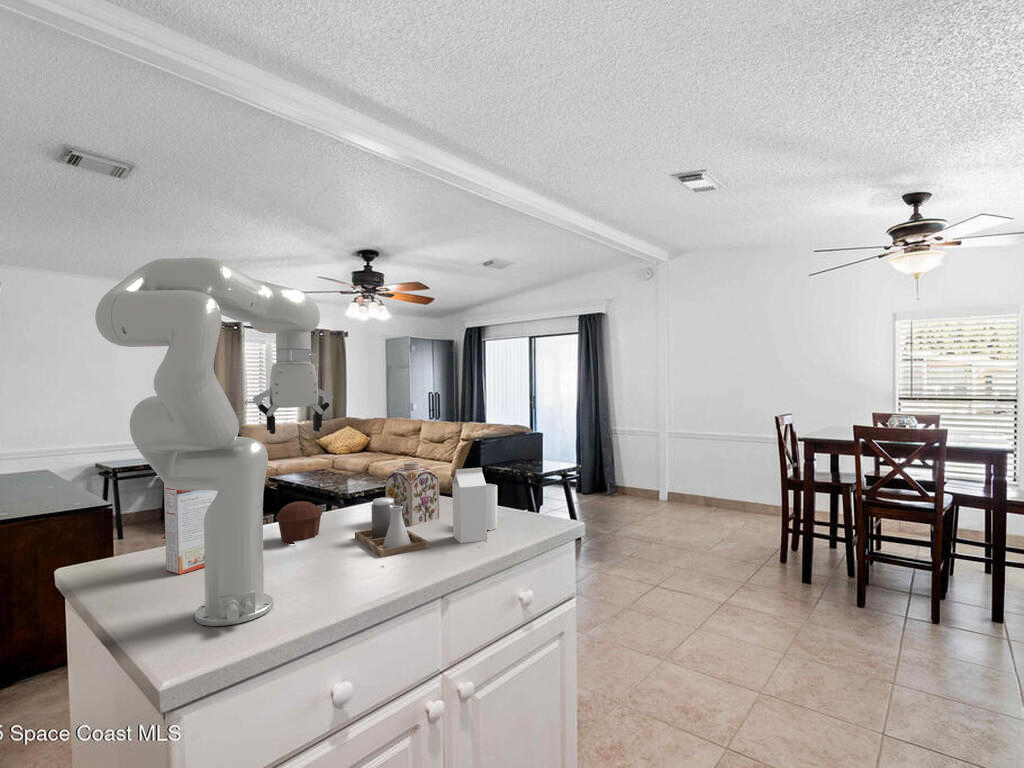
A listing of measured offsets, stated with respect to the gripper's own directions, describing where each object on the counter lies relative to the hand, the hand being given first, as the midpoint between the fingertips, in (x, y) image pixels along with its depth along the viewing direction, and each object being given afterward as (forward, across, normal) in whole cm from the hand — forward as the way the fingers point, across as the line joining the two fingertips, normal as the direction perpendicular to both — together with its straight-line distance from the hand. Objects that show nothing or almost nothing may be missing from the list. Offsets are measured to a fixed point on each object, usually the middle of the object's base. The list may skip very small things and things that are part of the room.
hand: (294, 432), depth 125 cm
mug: (+31, -51, -3) cm, 60 cm away
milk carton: (+31, -41, +8) cm, 52 cm away
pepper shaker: (+29, -22, -5) cm, 37 cm away
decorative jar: (+31, -37, -20) cm, 52 cm away
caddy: (+30, -22, 0) cm, 38 cm away
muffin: (+31, -5, -21) cm, 37 cm away
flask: (+30, -22, +5) cm, 37 cm away
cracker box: (+31, +18, -13) cm, 38 cm away
